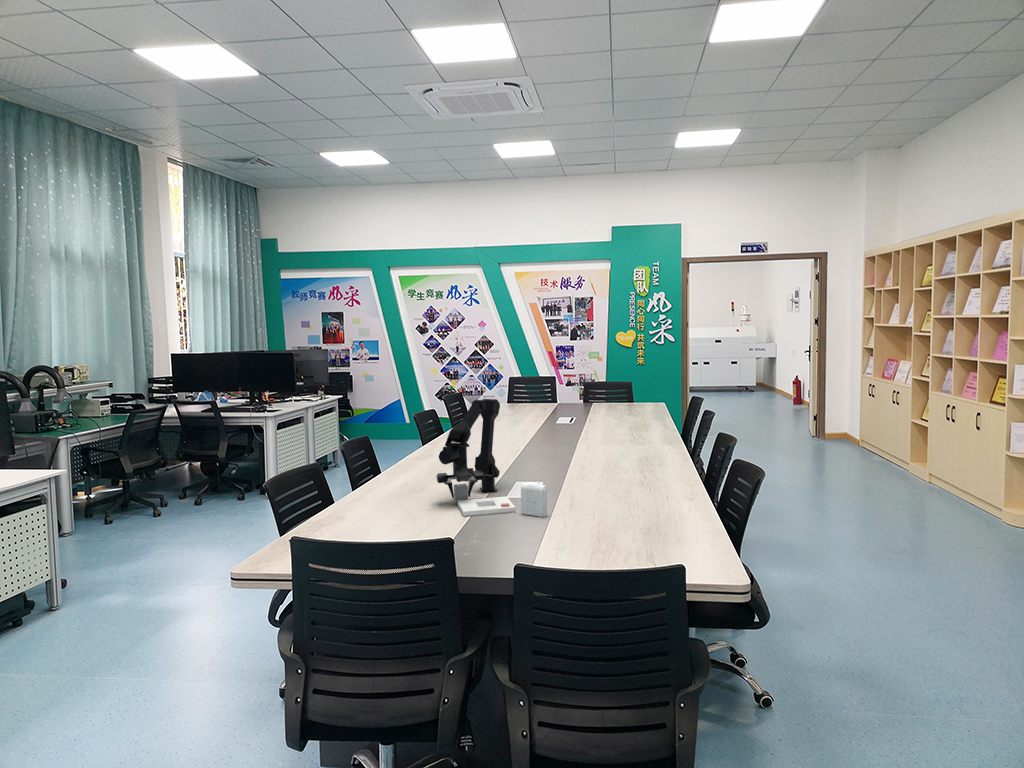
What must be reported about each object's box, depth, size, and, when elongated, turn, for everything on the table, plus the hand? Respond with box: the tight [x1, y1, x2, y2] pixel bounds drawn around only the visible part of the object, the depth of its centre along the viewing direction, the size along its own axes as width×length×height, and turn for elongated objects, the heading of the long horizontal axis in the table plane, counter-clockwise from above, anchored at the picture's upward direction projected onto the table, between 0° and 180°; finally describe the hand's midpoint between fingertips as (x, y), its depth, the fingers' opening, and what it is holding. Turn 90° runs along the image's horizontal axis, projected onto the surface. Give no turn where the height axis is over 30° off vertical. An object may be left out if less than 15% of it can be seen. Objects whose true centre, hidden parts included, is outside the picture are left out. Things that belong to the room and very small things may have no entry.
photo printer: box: [520, 481, 548, 518], centre depth 251 cm, size 10×4×12 cm, turn 61°
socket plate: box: [457, 496, 517, 518], centre depth 261 cm, size 16×20×3 cm
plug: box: [453, 483, 469, 506], centre depth 270 cm, size 5×5×7 cm
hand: (461, 497), depth 270 cm, fingers open, 6 cm apart
